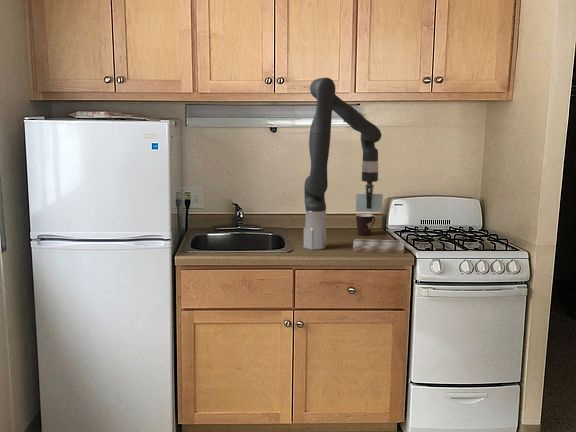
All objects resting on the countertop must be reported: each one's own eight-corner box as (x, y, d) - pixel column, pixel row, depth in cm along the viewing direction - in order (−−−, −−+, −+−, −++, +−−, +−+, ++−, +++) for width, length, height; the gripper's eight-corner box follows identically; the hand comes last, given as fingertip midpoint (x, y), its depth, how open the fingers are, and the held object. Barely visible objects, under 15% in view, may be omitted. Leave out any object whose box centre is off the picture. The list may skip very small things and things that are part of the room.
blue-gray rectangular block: (355, 211, 267) (356, 194, 265) (356, 210, 270) (356, 193, 269) (382, 212, 265) (382, 194, 264) (382, 210, 268) (382, 193, 267)
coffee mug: (359, 236, 285) (359, 217, 284) (353, 233, 294) (353, 214, 292) (381, 235, 288) (381, 215, 287) (374, 232, 297) (374, 213, 295)
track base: (352, 251, 253) (353, 242, 253) (354, 247, 262) (354, 238, 261) (403, 253, 250) (404, 244, 249) (403, 249, 258) (403, 240, 258)
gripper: (362, 169, 272) (361, 205, 274) (361, 172, 258) (360, 210, 261) (378, 169, 270) (377, 206, 273) (378, 172, 257) (377, 210, 260)
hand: (369, 207), depth 267 cm, fingers closed on blue-gray rectangular block, 3 cm apart
